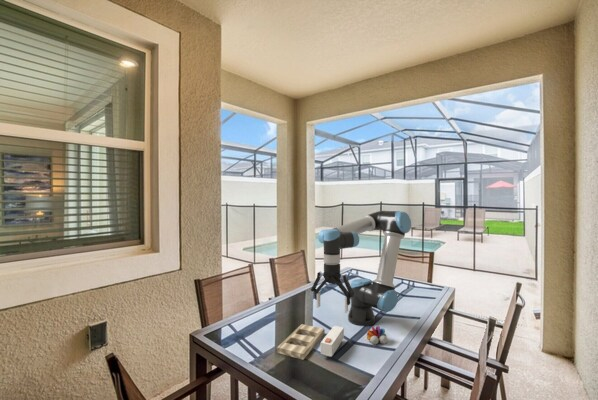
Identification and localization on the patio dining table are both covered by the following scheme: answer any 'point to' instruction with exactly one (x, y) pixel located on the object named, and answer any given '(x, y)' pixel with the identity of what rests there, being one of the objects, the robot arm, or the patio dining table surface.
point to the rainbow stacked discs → (377, 335)
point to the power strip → (332, 341)
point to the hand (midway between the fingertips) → (332, 309)
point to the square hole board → (301, 341)
